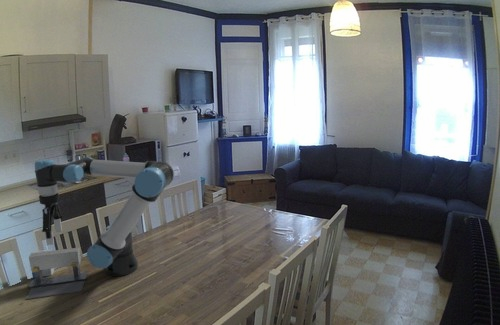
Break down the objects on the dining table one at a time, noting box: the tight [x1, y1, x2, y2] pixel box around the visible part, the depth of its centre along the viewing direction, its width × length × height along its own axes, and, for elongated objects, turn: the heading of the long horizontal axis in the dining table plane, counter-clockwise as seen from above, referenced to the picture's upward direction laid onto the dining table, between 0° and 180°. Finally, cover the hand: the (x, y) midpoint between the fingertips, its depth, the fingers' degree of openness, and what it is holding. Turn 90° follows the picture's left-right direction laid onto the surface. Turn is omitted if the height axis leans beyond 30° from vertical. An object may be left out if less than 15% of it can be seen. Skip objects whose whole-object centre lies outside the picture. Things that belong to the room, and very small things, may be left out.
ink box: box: [29, 249, 55, 279], centre depth 165 cm, size 8×5×12 cm, turn 105°
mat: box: [25, 280, 86, 301], centre depth 153 cm, size 22×8×1 cm, turn 105°
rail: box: [28, 247, 82, 272], centre depth 158 cm, size 20×4×7 cm, turn 105°
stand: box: [27, 263, 89, 290], centre depth 159 cm, size 24×6×10 cm, turn 105°
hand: (54, 238), depth 156 cm, fingers open, 13 cm apart
